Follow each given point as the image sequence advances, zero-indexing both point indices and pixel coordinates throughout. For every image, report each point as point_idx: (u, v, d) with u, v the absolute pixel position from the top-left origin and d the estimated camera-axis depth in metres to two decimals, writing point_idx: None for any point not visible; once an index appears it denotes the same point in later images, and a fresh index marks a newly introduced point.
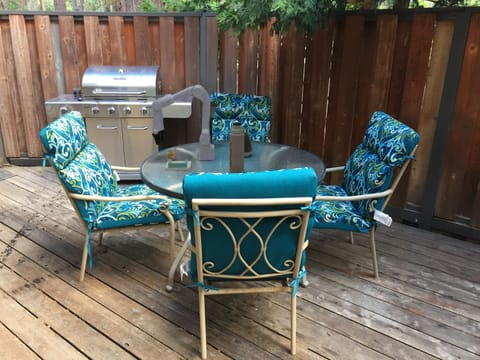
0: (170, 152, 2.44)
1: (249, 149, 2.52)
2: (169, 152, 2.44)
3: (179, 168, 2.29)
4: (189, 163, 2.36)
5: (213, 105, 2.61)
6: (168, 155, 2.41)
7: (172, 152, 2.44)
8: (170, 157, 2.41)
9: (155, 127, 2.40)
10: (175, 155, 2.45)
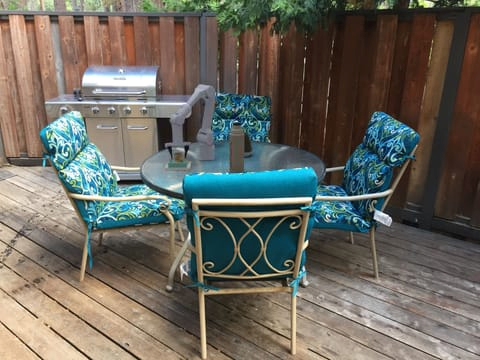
0: (177, 153, 2.36)
1: (249, 149, 2.52)
2: (176, 153, 2.36)
3: (179, 168, 2.29)
4: (189, 163, 2.36)
5: None
6: (176, 156, 2.33)
7: (179, 153, 2.36)
8: (178, 158, 2.34)
9: None
10: None
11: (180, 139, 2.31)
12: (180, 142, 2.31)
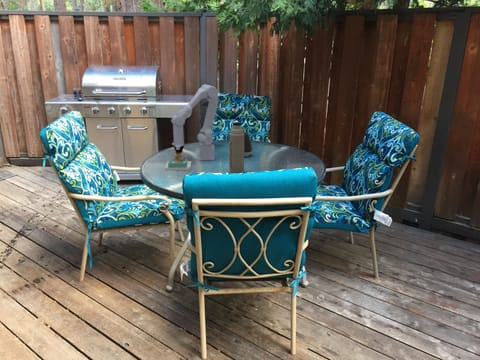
0: (177, 153, 2.36)
1: (249, 149, 2.52)
2: (176, 153, 2.36)
3: (179, 168, 2.29)
4: (189, 163, 2.36)
5: None
6: (176, 156, 2.33)
7: (179, 153, 2.36)
8: (178, 158, 2.34)
9: (176, 142, 2.36)
10: None
11: None
12: None
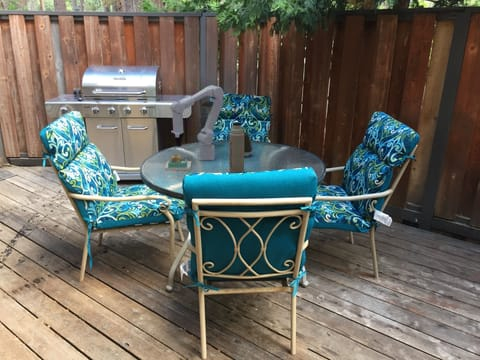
0: (175, 156, 2.31)
1: (249, 149, 2.52)
2: (174, 156, 2.31)
3: (179, 168, 2.29)
4: (189, 163, 2.36)
5: None
6: (173, 159, 2.29)
7: (177, 156, 2.31)
8: (175, 161, 2.29)
9: (175, 130, 2.33)
10: (180, 159, 2.33)
11: None
12: None
